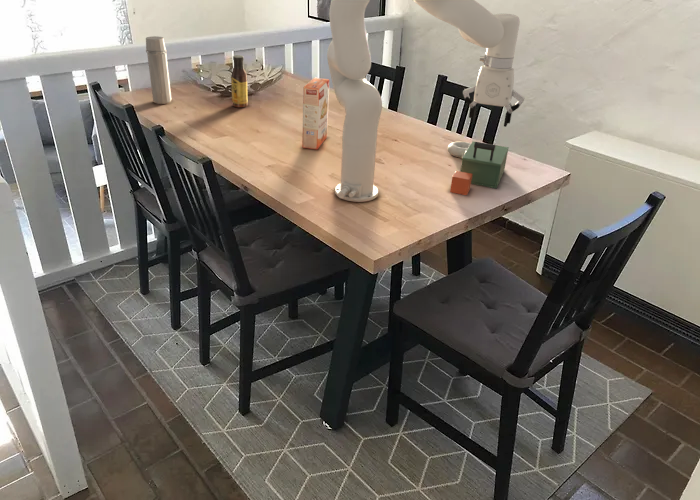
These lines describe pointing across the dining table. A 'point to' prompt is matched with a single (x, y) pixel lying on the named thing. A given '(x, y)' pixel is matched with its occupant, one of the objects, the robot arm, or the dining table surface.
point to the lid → (485, 153)
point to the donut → (458, 148)
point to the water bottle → (158, 69)
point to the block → (461, 183)
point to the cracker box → (315, 113)
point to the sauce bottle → (239, 83)
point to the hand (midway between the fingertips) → (488, 122)
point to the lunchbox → (484, 173)
